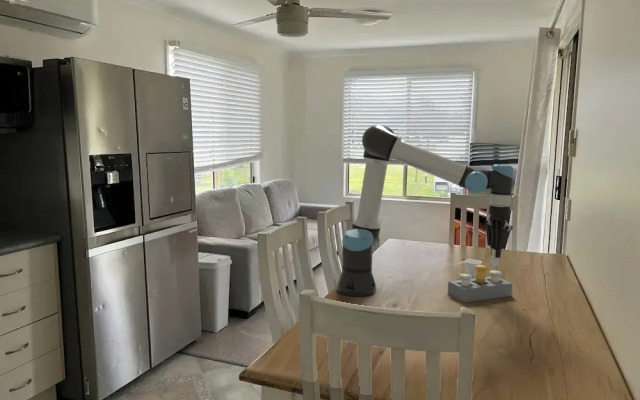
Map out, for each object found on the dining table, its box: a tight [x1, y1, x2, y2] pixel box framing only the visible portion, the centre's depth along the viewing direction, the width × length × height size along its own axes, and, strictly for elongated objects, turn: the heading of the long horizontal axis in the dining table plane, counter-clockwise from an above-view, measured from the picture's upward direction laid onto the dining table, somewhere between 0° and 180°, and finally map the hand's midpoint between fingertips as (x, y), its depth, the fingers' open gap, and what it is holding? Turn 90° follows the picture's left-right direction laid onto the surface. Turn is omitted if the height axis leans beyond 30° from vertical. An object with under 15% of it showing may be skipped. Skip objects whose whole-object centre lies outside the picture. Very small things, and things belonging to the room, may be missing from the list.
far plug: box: [488, 269, 503, 283], centre depth 182 cm, size 4×4×7 cm
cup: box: [456, 258, 483, 279], centre depth 199 cm, size 7×10×8 cm
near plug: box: [459, 273, 472, 287], centre depth 177 cm, size 4×4×7 cm
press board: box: [447, 275, 513, 303], centre depth 179 cm, size 22×10×5 cm, turn 110°
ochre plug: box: [475, 264, 488, 284], centre depth 179 cm, size 4×4×7 cm
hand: (494, 265), depth 181 cm, fingers closed
